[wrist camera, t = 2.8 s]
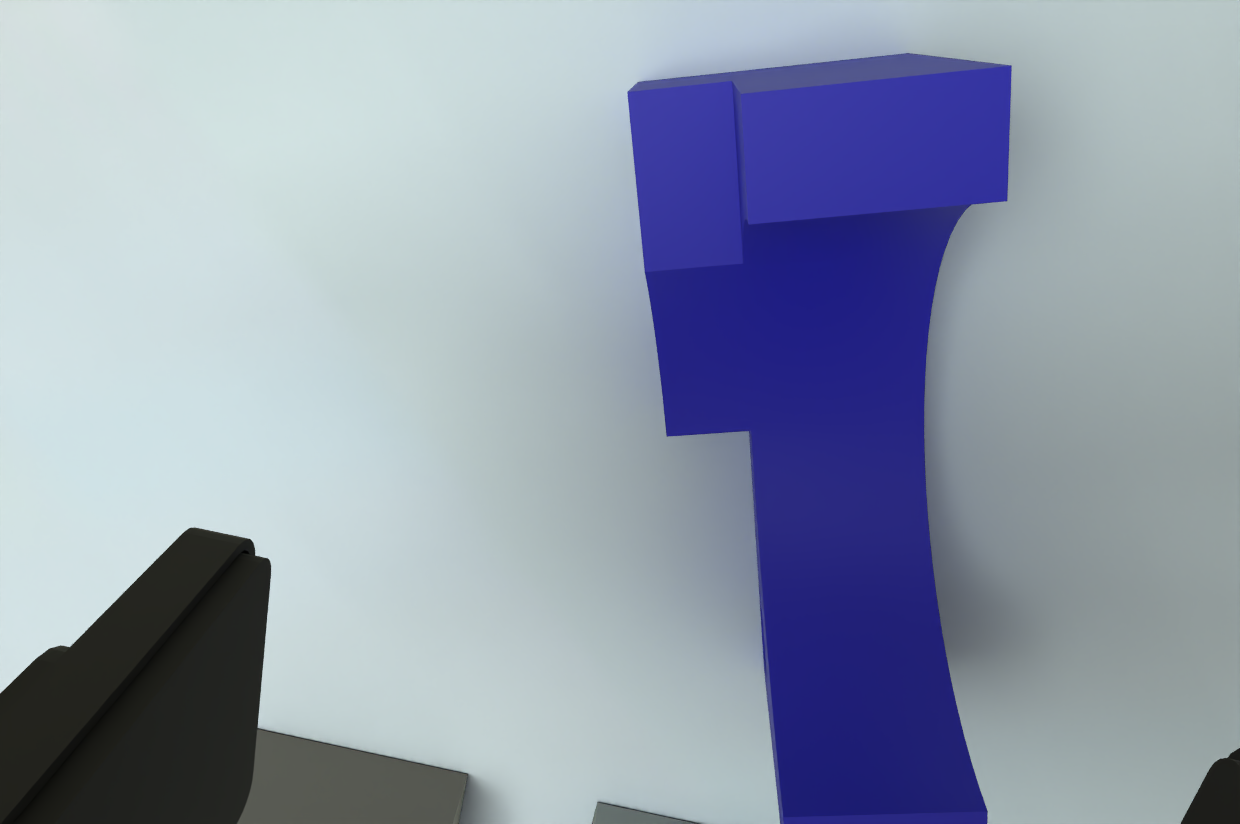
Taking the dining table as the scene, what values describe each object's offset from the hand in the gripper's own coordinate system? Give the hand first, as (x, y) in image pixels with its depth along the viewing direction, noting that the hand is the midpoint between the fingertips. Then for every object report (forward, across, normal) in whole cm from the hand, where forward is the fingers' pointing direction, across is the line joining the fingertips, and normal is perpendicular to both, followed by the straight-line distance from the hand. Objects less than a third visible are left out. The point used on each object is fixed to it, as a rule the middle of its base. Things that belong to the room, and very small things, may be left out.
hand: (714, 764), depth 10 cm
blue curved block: (+10, -2, 0) cm, 10 cm away
